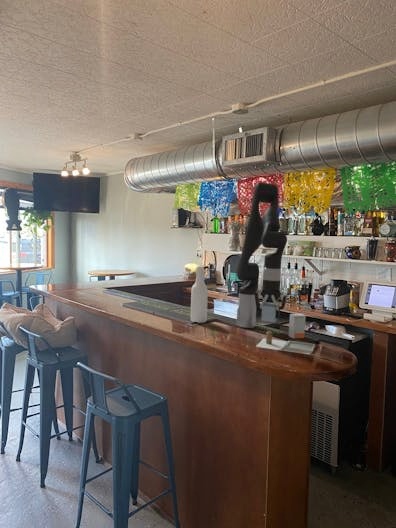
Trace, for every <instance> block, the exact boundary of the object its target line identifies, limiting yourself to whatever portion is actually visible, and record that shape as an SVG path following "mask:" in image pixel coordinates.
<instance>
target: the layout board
mask: <svg viewBox="0 0 396 528" xmlns="http://www.w3.org/2000/svg"><path fill="white" fill-rule="evenodd" d="M255 347H256V348H263V349H268V350H269V349H270V350H276V351H284V352H290V353H295V354H296V353H297V354H304V355H309V356H310V355H311V354H313V352H314V350H315V348H316V343H311V342H302V341H294V340H288V341H287V340H281V339H273V331H270V330H269V331H268V330H267V331H266V337H265V338H262V339H261V340H260V342H258V343H257V344H256V346H255Z"/></svg>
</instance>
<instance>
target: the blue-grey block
mask: <svg viewBox="0 0 396 528" xmlns="http://www.w3.org/2000/svg"><path fill="white" fill-rule="evenodd" d="M260 319H261V322H267V323H268V322H269V323H276V322H277V321H278V319H276V305H274V303H271V302H266V303H265V304H262V317H261V318H260Z"/></svg>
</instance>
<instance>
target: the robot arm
mask: <svg viewBox="0 0 396 528" xmlns="http://www.w3.org/2000/svg"><path fill="white" fill-rule="evenodd" d="M260 203H263V204H270V205H269V206H268V208H267V209H266V210H265V211H264V212H263V215H262V216H261V212H260ZM249 212H250V214H249V218H248V222H247V226H246V230H245V235H244V240H243V245H242V249H241V253H240V256H239V257H240V258H239V260H238V264H237V268H236V277H237V279H238V280H239V281H245V282H248V283H247V284H245V285H243V286H241V287H239V289H238V307H237V309H236V327H240V328H243V329H244V328H247V329H250V328H251V329H252V328H255V327H256V322H257V321H256V319H257V308H259V316H260V317H261V318H262V304H265V303H274V305H276V319H277V320H278V319H279V318H280V315H281V310H283V309H285V307H286V302H287V299H288V295H286V294H285V295H284V294H282V293H281V283H282V282H281V279H282V258H283V255H284V250H285V248H286V245H287V243H288V237H287V234H286V233H285V232H283V231H280V229H281V223H280V218H279V188H278V185H277V184H275V183H270V182H263V181H262V182H261V181H258V182H256V183H255V185H254V188H253V193H252V200H251V207H250V211H249ZM261 245H262V247H264V248H267V249H275V251H274V252H272V253H267V254H265V256H264V260H263V261H264V263H263V271H262V285H261V288H262V289H261V292H258V288H259V280H260V279H259V278H260V267H259V264H258V263H256V262H250V259H251V257H252V256H253V254H254V253H255V252H256V251H257V250H258V249H259V248H260V247H261ZM260 297H262V298H263V300H262V301H261V302H260ZM279 299H281V300H282V301H281V305H280V304H279V303H280V302H279Z"/></svg>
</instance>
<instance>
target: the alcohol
mask: <svg viewBox="0 0 396 528" xmlns="http://www.w3.org/2000/svg"><path fill="white" fill-rule="evenodd" d="M204 270H205V267H204V265H196V274H195V275H196V276H195V282H194V284H193V285H192V286H191V293H190V294H191V296H190V298H191V299H190V322H192V323H194V322H197V323H196V324H204V323H206V322H207V320H208V319H207V318H208V295H209V293H208V292H209V290H208V286H207V284H206V283H205V271H204Z"/></svg>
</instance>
